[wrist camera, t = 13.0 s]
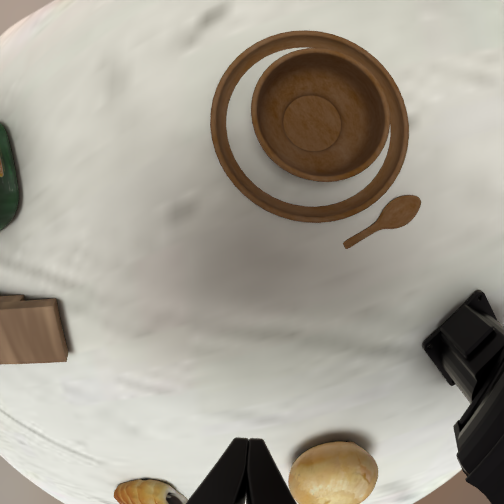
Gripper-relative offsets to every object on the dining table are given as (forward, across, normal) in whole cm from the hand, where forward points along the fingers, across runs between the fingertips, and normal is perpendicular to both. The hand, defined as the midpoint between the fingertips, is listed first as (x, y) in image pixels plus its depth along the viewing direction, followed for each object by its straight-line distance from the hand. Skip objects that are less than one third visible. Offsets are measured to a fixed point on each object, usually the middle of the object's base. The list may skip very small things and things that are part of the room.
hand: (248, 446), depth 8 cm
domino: (+12, +16, +4) cm, 20 cm away
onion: (+13, -7, +17) cm, 23 cm away
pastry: (+14, +12, +27) cm, 32 cm away
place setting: (+14, -6, -13) cm, 20 cm away
